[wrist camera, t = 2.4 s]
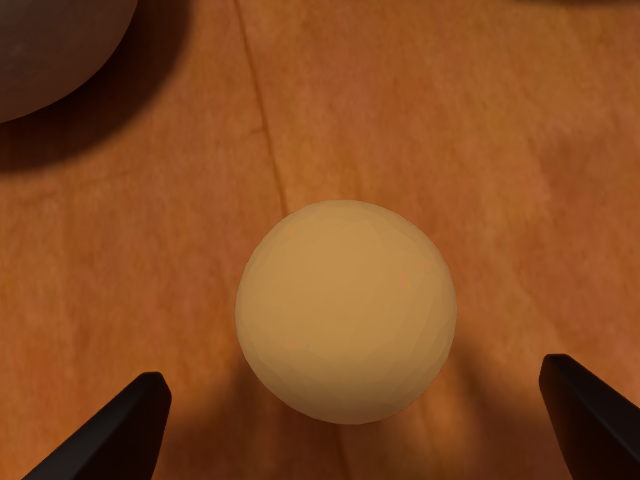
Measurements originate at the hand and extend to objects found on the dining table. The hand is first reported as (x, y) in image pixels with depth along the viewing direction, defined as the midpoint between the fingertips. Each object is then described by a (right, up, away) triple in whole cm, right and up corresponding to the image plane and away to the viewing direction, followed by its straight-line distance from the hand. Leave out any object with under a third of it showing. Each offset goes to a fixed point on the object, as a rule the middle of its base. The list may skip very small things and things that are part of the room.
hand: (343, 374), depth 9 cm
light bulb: (+1, -1, +9) cm, 9 cm away
